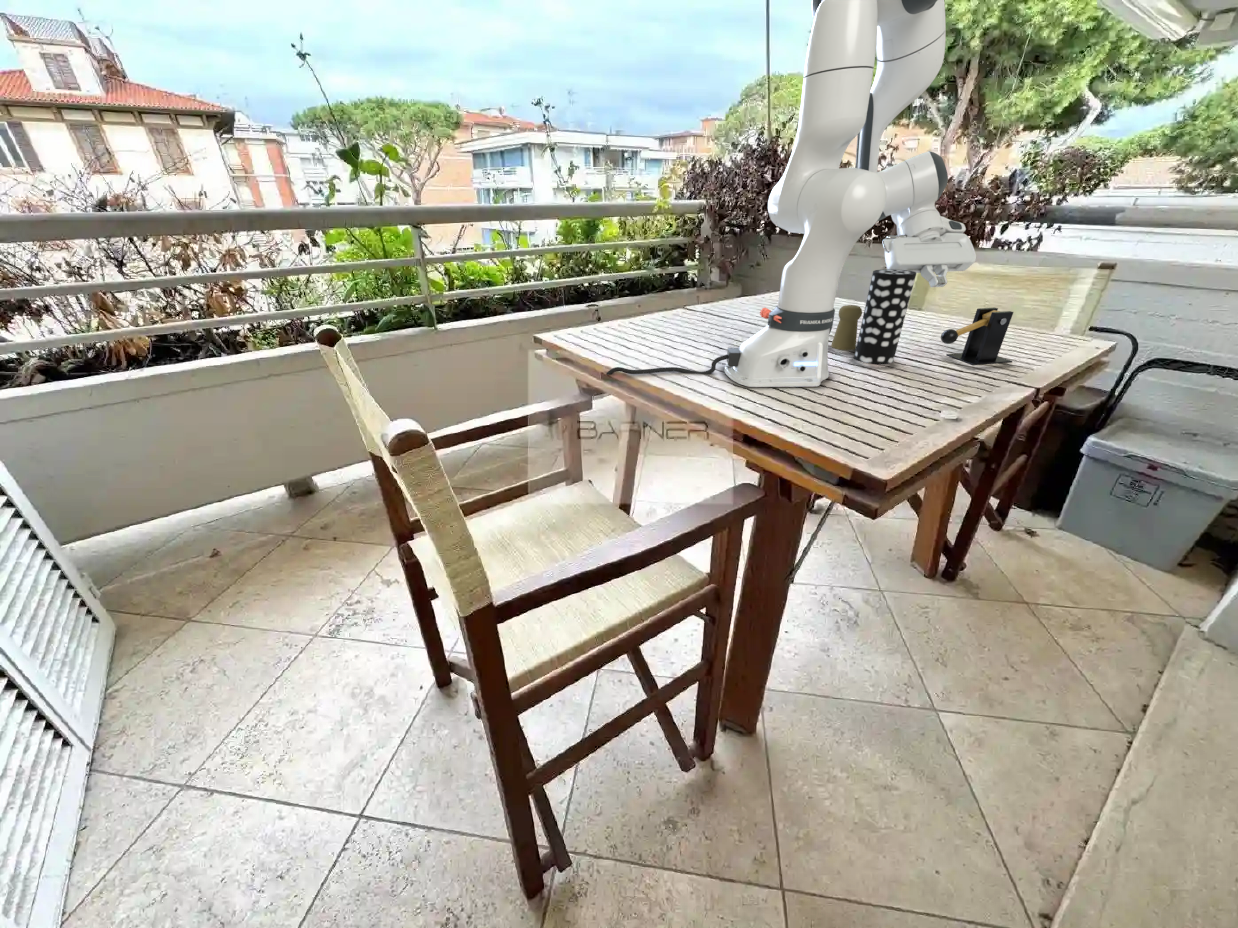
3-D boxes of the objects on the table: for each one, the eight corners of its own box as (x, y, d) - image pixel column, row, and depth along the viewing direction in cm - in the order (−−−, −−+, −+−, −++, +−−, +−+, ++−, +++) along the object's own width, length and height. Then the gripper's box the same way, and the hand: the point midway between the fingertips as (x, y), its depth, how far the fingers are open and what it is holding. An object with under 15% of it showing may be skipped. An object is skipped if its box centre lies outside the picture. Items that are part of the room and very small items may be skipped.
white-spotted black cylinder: (884, 357, 116) (906, 269, 107) (898, 368, 109) (923, 274, 99) (848, 357, 117) (867, 269, 108) (860, 368, 110) (881, 275, 100)
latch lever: (947, 347, 107) (947, 334, 105) (937, 344, 110) (937, 331, 108) (1004, 324, 106) (1004, 310, 105) (992, 321, 109) (992, 307, 107)
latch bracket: (971, 369, 108) (989, 315, 102) (944, 359, 115) (960, 307, 109) (1010, 366, 109) (1031, 312, 103) (982, 356, 116) (1000, 305, 110)
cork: (860, 352, 120) (870, 307, 115) (838, 354, 120) (847, 308, 114) (846, 346, 126) (855, 302, 120) (825, 348, 125) (833, 304, 119)
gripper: (889, 226, 108) (906, 278, 105) (970, 223, 111) (990, 274, 107) (872, 246, 114) (888, 296, 111) (950, 243, 117) (968, 292, 113)
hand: (939, 285), depth 109 cm, fingers closed
